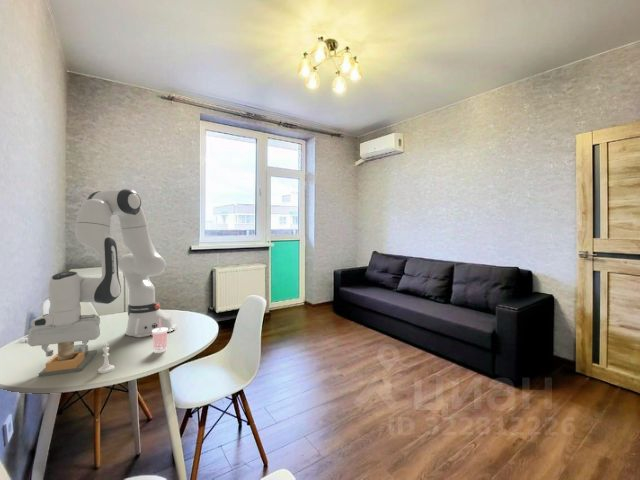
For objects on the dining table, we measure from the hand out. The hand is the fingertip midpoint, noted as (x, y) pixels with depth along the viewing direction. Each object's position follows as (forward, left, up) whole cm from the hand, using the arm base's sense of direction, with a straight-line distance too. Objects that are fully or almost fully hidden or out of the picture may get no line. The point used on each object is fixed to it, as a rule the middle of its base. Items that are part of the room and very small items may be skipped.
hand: (66, 353), depth 107 cm
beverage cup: (-30, -5, -5) cm, 31 cm away
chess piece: (-14, +7, -5) cm, 17 cm away
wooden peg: (0, 0, -4) cm, 4 cm away
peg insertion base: (0, -4, -5) cm, 6 cm away
